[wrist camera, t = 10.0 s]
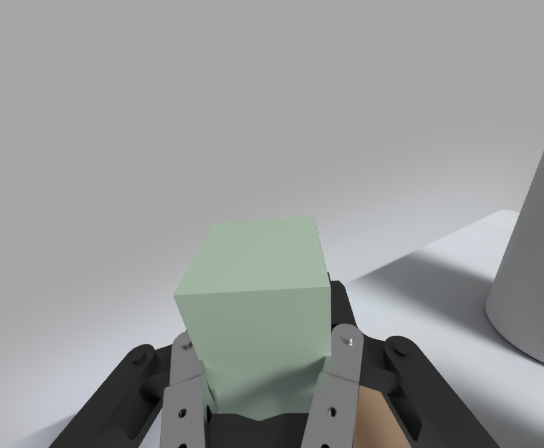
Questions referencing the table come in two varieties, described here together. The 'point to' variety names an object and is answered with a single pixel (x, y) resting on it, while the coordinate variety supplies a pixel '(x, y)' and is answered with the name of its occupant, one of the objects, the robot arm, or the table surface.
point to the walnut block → (376, 423)
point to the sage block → (259, 314)
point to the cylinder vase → (523, 277)
